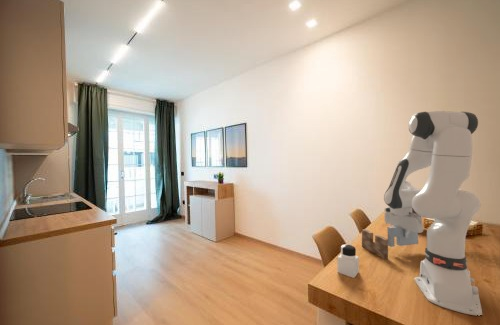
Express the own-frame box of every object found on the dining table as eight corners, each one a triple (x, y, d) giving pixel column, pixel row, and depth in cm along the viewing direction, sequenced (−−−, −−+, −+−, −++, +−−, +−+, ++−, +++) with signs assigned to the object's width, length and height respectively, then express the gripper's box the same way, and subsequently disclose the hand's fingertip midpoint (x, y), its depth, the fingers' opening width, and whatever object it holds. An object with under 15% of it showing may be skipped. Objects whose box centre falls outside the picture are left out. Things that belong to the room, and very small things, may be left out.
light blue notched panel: (391, 246, 111) (390, 227, 112) (387, 245, 113) (387, 226, 114) (418, 243, 115) (417, 225, 116) (414, 242, 117) (414, 224, 117)
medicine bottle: (359, 272, 95) (359, 245, 95) (354, 278, 90) (354, 250, 90) (342, 266, 100) (342, 241, 100) (337, 272, 95) (337, 246, 94)
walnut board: (387, 258, 107) (388, 239, 107) (384, 259, 107) (384, 239, 107) (364, 246, 123) (364, 229, 123) (361, 246, 123) (361, 229, 123)
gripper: (426, 214, 105) (427, 242, 105) (391, 207, 125) (391, 230, 125) (416, 215, 104) (417, 243, 104) (382, 207, 124) (382, 231, 124)
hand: (402, 236), depth 114 cm, fingers closed on light blue notched panel, 2 cm apart
